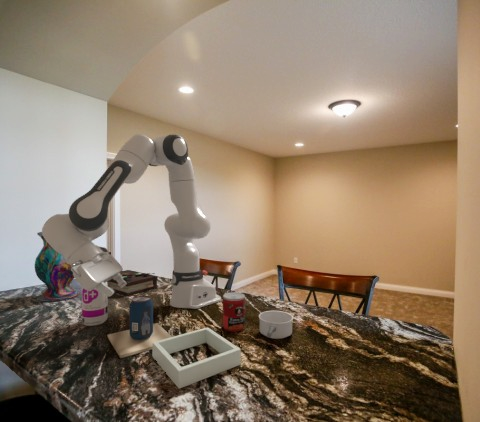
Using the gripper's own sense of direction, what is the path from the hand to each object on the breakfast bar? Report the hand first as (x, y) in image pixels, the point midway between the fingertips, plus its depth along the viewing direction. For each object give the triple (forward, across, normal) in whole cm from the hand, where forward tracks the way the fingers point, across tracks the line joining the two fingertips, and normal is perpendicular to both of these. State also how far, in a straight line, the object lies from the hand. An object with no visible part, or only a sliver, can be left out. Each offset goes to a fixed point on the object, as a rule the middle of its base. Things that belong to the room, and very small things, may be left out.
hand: (118, 290), depth 89 cm
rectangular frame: (+29, -13, -7) cm, 32 cm away
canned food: (+36, +9, -14) cm, 40 cm away
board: (+16, 0, +6) cm, 17 cm away
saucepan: (+45, 0, -23) cm, 51 cm away
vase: (-21, +45, +43) cm, 66 cm away
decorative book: (-2, +59, +25) cm, 64 cm away
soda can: (+15, 0, +6) cm, 16 cm away
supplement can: (+1, +15, +21) cm, 26 cm away
